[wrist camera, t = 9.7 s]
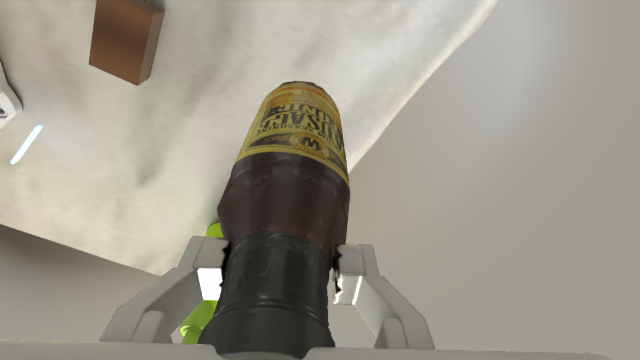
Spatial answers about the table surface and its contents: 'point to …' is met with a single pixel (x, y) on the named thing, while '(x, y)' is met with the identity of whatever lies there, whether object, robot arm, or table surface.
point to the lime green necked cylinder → (200, 306)
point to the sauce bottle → (282, 229)
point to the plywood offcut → (125, 38)
